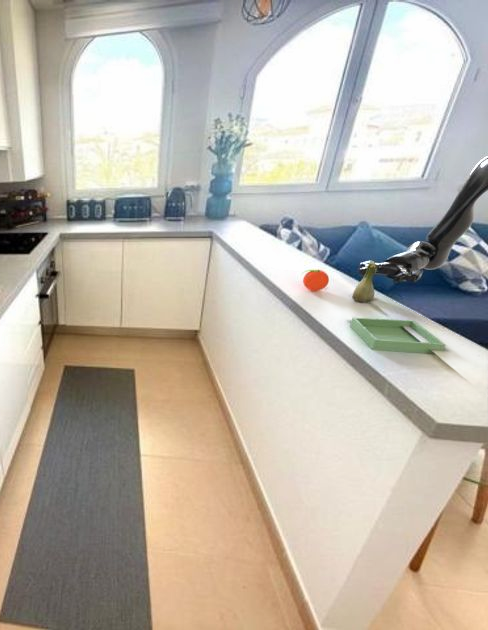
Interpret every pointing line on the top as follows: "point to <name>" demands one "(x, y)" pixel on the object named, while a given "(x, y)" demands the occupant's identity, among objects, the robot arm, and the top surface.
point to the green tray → (394, 335)
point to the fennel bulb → (365, 286)
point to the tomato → (315, 280)
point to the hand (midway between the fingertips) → (377, 275)
